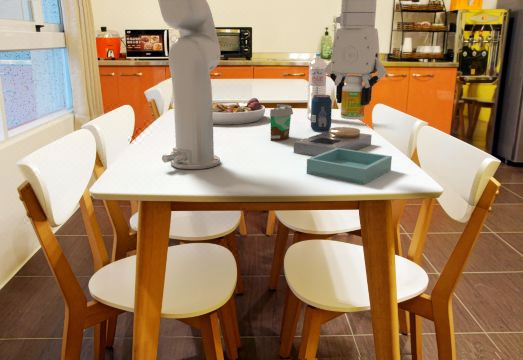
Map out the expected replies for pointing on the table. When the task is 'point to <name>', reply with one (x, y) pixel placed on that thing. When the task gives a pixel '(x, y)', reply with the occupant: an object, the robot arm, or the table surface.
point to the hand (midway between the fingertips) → (353, 102)
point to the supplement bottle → (352, 98)
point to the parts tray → (349, 165)
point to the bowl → (237, 112)
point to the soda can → (321, 113)
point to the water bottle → (316, 80)
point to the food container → (280, 122)
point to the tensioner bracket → (333, 141)
